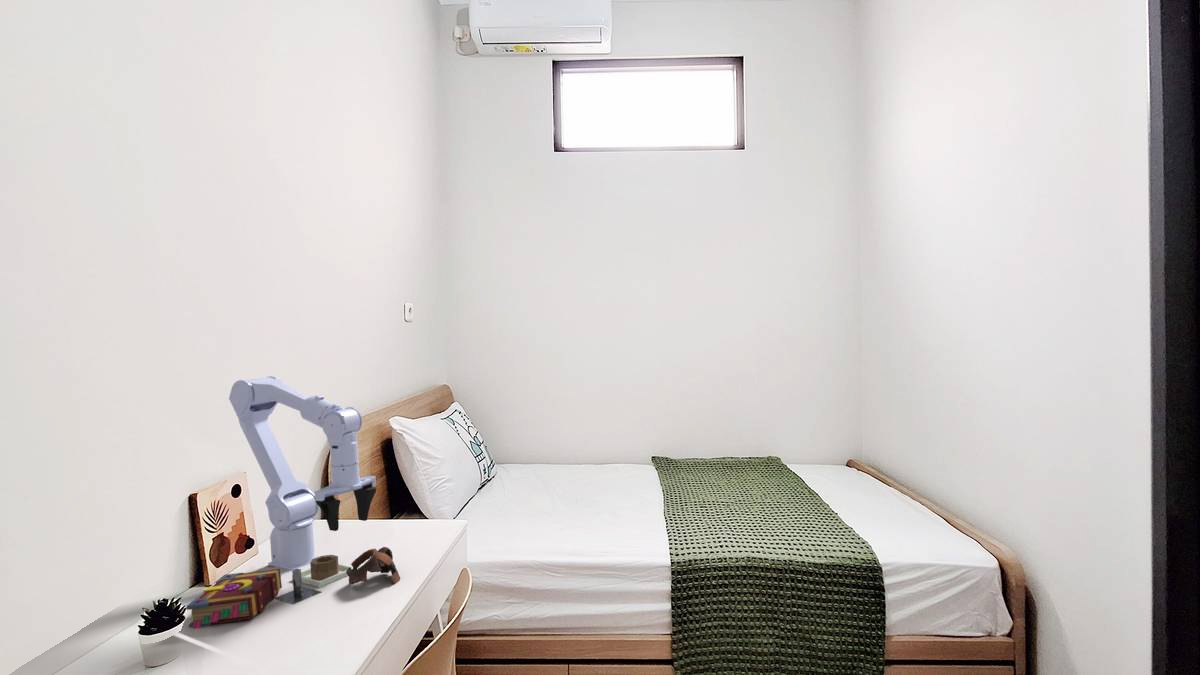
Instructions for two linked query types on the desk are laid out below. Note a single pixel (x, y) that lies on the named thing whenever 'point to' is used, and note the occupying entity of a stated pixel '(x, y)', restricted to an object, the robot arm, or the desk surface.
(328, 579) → the tray
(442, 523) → the desk surface
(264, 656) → the desk surface
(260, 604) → the decorative book
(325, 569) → the collar
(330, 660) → the desk surface
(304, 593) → the grey peg stand
